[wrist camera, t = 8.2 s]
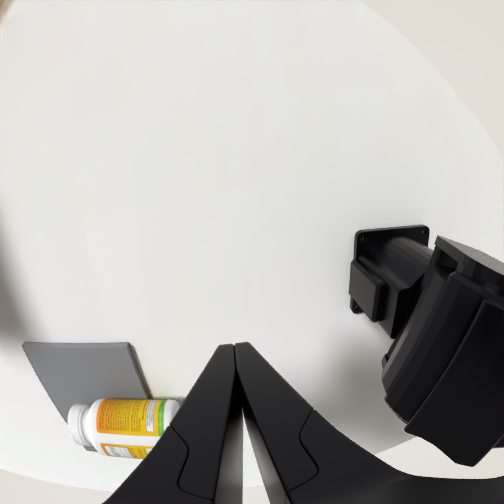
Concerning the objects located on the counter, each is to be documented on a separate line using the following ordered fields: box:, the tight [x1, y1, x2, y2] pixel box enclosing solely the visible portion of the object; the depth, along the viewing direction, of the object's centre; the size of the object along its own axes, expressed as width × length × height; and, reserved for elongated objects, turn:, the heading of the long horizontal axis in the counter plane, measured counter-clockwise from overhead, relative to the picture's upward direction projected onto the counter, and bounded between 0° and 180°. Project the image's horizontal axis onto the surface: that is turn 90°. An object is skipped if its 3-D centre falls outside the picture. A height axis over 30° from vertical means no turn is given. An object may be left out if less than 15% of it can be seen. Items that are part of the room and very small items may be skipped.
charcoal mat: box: [22, 342, 150, 452], centre depth 24 cm, size 11×16×1 cm
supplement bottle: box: [68, 399, 180, 459], centre depth 21 cm, size 5×5×10 cm
